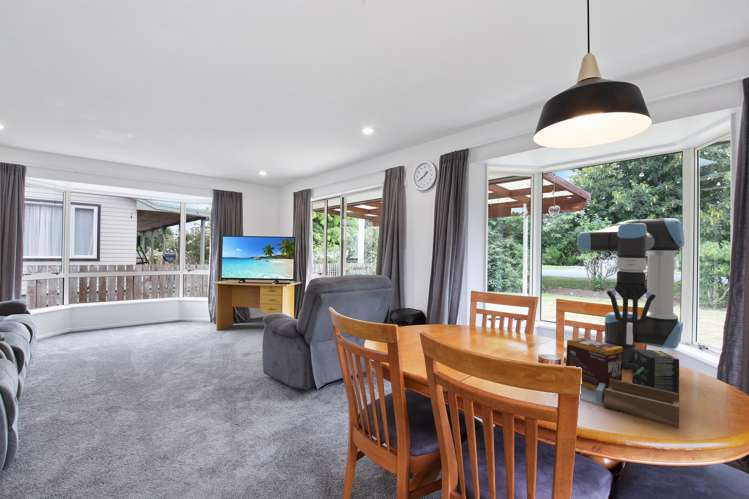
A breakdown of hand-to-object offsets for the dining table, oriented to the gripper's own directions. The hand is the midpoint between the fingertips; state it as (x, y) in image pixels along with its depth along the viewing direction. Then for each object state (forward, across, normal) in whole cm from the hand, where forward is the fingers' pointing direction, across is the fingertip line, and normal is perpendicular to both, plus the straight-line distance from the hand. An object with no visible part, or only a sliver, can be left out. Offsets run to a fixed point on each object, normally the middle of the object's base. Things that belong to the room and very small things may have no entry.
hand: (629, 343), depth 112 cm
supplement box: (+21, -12, +14) cm, 28 cm away
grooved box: (+21, +3, -1) cm, 21 cm away
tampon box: (+21, +6, +18) cm, 29 cm away
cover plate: (+21, -14, -1) cm, 26 cm away
